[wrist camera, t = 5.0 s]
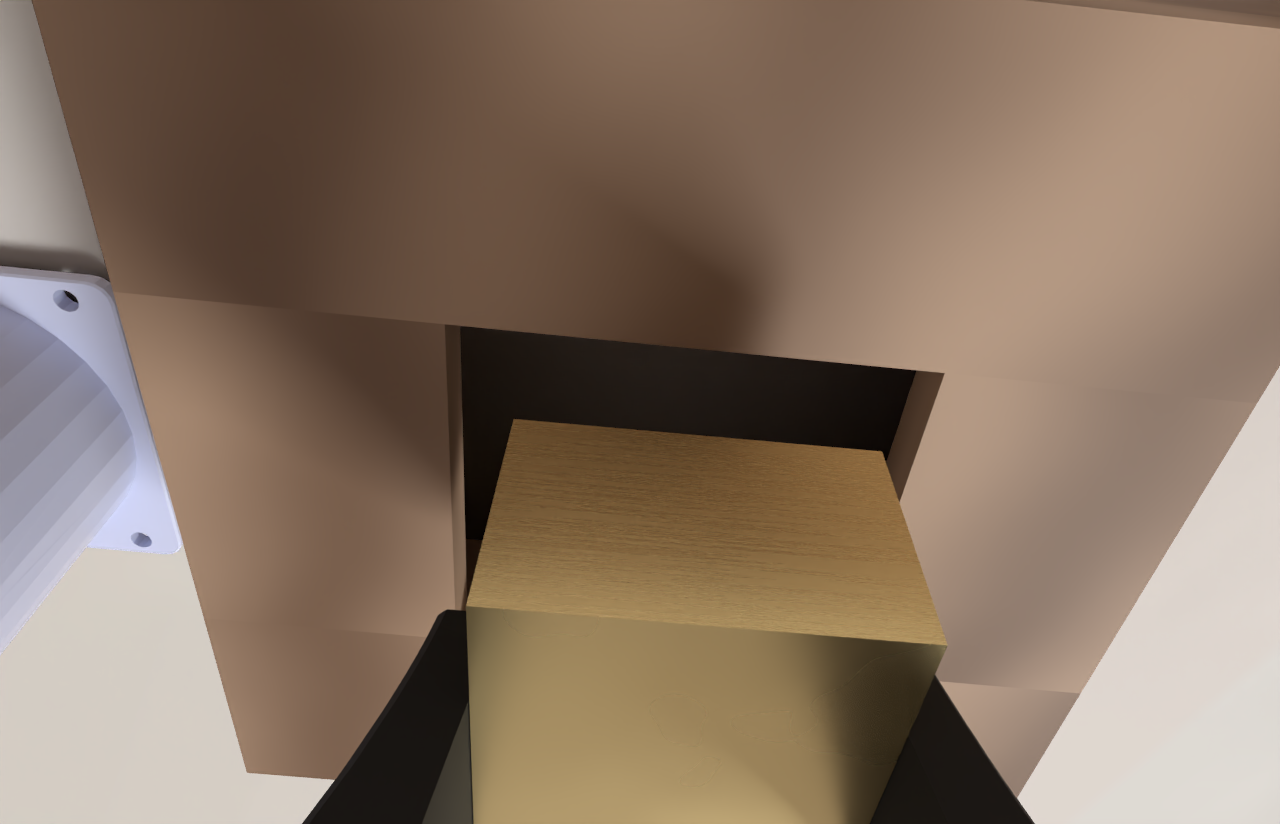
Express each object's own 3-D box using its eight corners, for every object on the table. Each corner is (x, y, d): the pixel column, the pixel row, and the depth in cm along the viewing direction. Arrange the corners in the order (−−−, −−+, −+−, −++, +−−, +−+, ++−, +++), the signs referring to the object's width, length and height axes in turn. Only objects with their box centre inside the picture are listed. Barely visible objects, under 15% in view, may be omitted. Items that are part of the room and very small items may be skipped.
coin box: (343, 554, 23) (247, 772, 18) (247, -141, 14) (-1, -115, 9) (922, 606, 24) (995, 832, 19) (1183, -35, 15) (1471, 50, 10)
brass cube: (512, 663, 13) (475, 862, 10) (513, 418, 10) (466, 605, 8) (808, 686, 13) (840, 888, 11) (882, 451, 11) (948, 645, 8)
